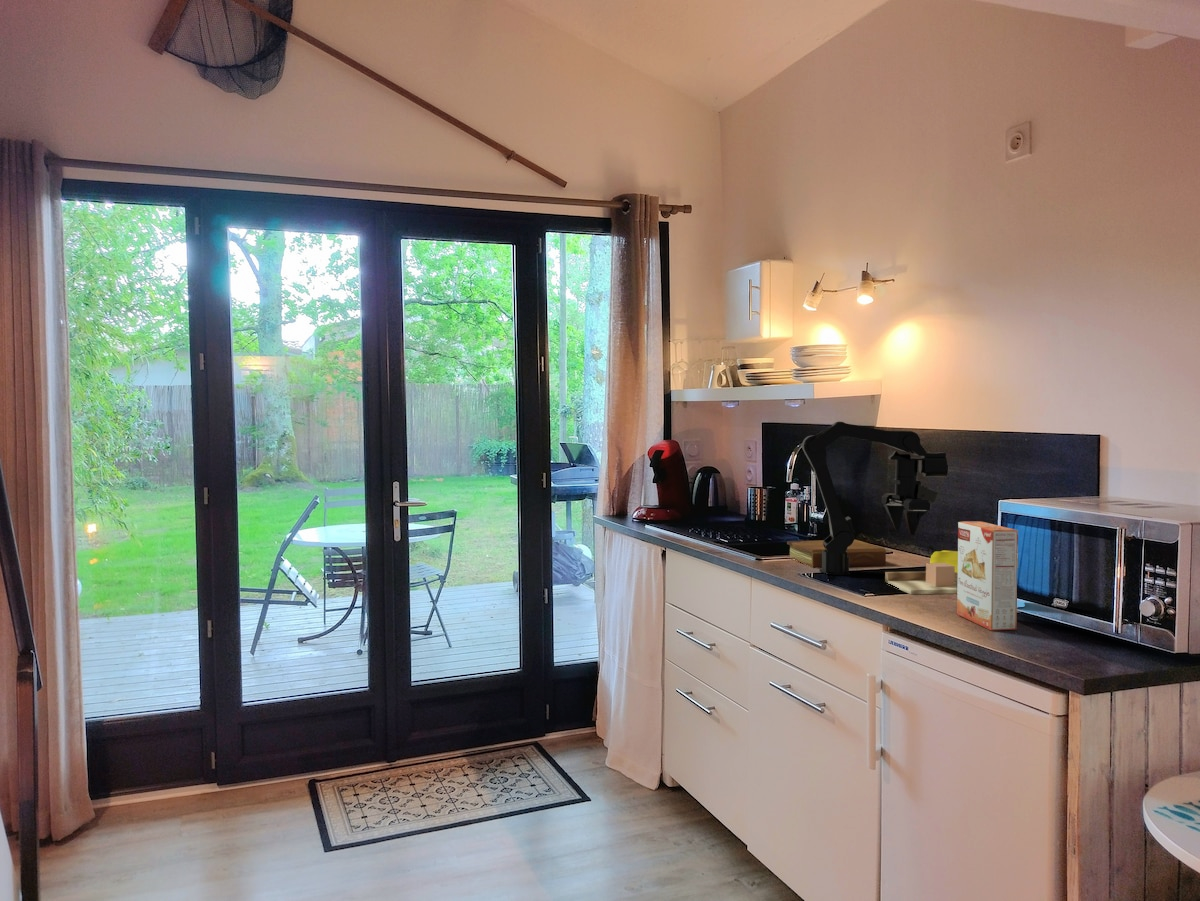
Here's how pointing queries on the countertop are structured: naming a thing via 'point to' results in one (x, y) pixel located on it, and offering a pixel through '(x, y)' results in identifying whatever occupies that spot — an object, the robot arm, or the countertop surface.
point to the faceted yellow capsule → (946, 558)
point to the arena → (917, 583)
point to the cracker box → (987, 575)
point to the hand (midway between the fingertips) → (904, 532)
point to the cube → (940, 574)
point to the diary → (857, 550)
